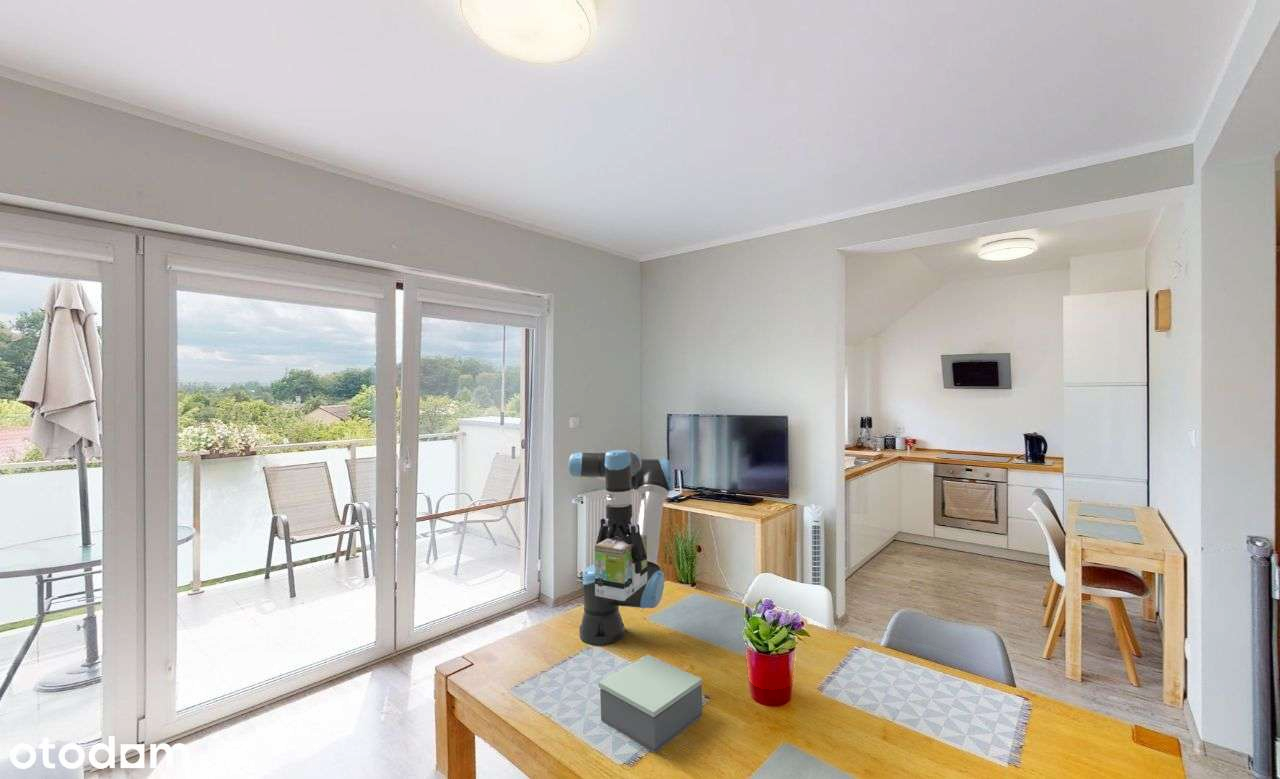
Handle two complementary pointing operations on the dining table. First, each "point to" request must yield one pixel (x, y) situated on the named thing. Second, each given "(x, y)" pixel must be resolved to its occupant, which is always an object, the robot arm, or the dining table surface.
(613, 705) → the storage box
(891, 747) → the dining table surface
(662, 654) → the dining table surface
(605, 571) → the tea box
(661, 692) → the lid
